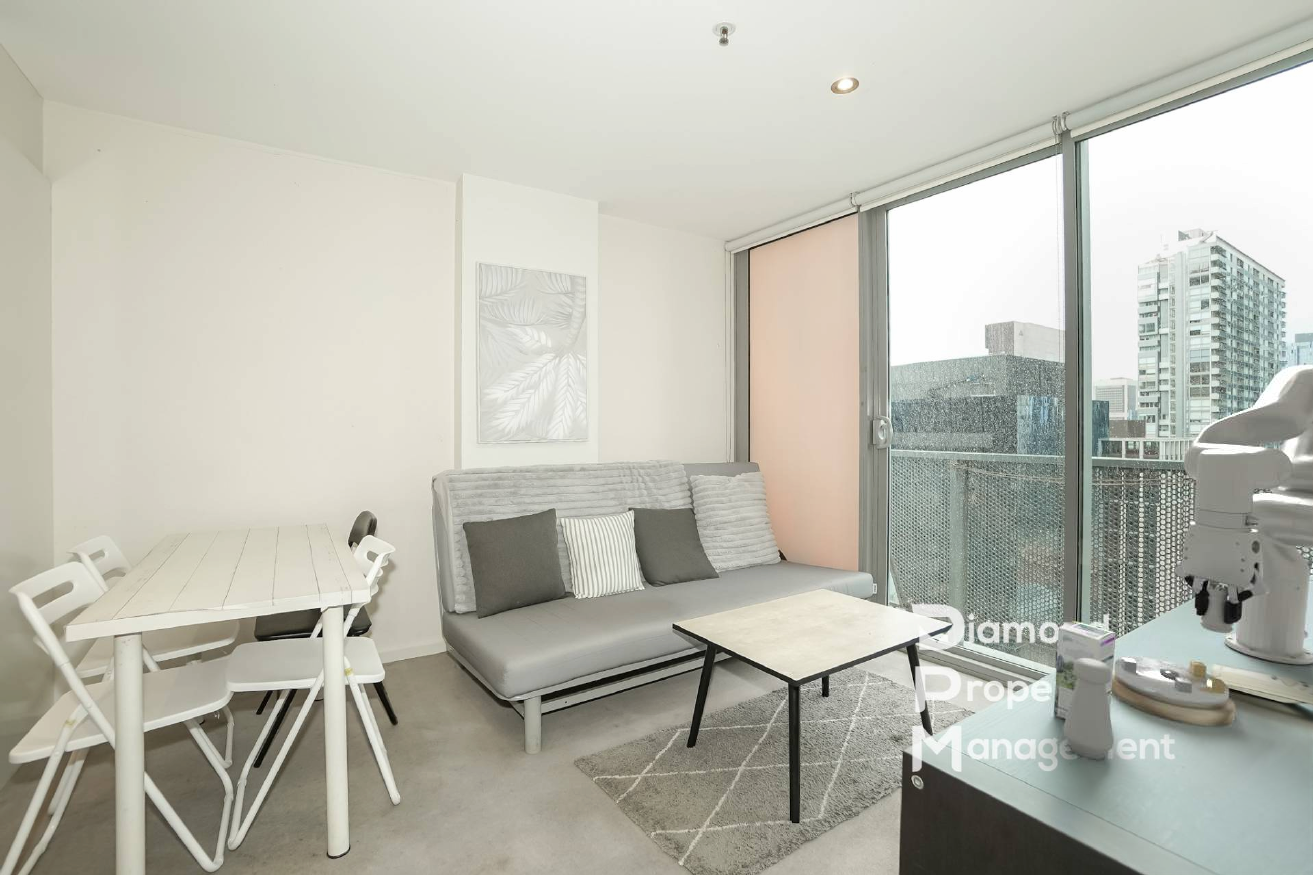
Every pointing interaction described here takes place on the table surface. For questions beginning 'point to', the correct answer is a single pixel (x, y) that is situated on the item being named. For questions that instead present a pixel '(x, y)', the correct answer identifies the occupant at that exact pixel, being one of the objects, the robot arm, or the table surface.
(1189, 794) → the table surface
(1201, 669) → the white round board
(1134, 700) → the tan flat disc
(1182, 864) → the table surface
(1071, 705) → the salt shaker
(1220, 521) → the robot arm
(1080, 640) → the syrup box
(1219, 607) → the rook chess piece
